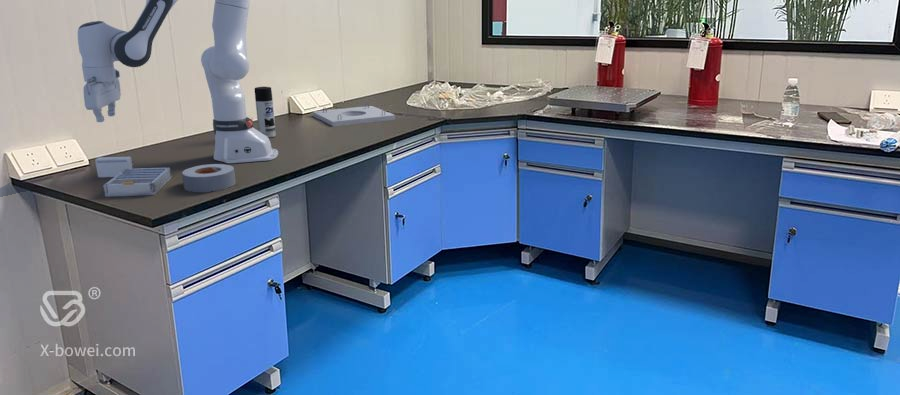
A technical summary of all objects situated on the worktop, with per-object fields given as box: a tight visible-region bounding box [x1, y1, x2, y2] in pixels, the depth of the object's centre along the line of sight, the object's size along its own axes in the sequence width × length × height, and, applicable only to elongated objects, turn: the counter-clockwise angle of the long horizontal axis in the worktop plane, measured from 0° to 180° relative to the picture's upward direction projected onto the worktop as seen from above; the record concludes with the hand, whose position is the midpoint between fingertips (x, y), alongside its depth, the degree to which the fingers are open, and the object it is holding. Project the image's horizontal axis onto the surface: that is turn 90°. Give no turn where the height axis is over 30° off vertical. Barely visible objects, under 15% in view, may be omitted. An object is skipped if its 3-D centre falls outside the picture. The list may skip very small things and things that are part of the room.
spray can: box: [254, 86, 277, 139], centre depth 268 cm, size 7×7×20 cm
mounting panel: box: [312, 103, 396, 127], centre depth 307 cm, size 27×5×30 cm
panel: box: [95, 156, 134, 178], centre depth 217 cm, size 10×3×6 cm, turn 96°
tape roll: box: [181, 163, 236, 193], centre depth 207 cm, size 15×15×5 cm
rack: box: [102, 167, 173, 198], centre depth 205 cm, size 14×18×4 cm
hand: (106, 118), depth 212 cm, fingers open, 8 cm apart
